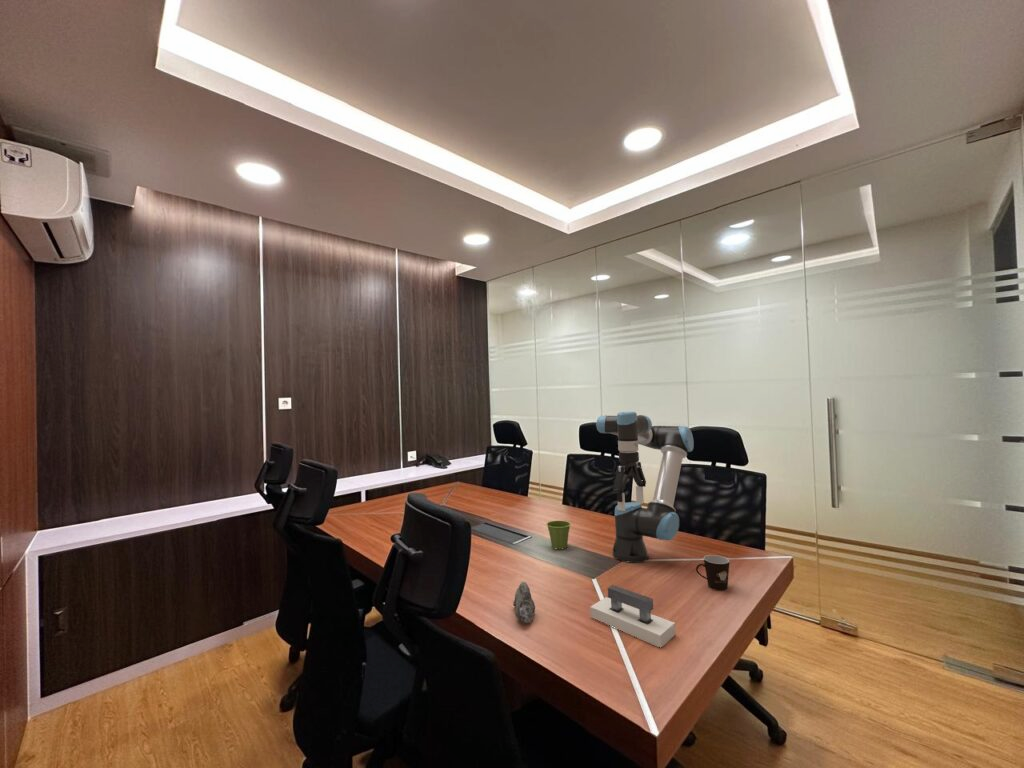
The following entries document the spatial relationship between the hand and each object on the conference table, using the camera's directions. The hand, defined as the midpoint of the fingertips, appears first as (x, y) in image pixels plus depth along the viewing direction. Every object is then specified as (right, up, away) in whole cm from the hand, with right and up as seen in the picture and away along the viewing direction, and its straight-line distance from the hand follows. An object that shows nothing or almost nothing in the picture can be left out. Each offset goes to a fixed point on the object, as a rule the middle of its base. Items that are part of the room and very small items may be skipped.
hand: (631, 506), depth 159 cm
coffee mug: (+28, -28, -7) cm, 40 cm away
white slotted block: (-9, -28, -31) cm, 43 cm away
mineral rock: (-43, -30, -23) cm, 57 cm away
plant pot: (-23, -31, +39) cm, 55 cm away
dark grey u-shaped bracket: (-9, -28, -31) cm, 43 cm away
